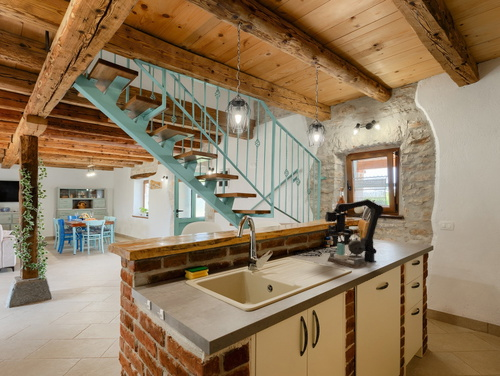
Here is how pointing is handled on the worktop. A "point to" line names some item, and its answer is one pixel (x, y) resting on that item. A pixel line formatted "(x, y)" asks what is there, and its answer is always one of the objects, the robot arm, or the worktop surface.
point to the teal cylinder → (341, 252)
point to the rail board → (348, 261)
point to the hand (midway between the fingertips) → (340, 244)
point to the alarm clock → (355, 246)
